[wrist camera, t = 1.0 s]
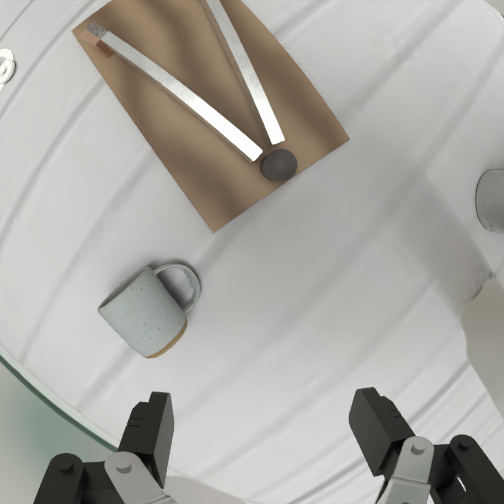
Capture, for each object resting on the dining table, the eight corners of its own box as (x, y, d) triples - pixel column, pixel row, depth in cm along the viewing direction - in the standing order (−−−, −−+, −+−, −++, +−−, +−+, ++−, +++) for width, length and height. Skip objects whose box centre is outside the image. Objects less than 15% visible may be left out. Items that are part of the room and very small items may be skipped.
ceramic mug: (151, 341, 36) (138, 374, 28) (109, 293, 34) (86, 317, 27) (216, 296, 35) (214, 323, 28) (172, 241, 33) (159, 257, 26)
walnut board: (192, -41, 25) (188, -68, 19) (346, 140, 32) (370, 133, 26) (74, 33, 26) (53, 14, 20) (213, 231, 33) (210, 242, 27)
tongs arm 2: (258, 155, 31) (262, 151, 27) (245, 169, 31) (247, 167, 27) (104, 34, 26) (92, 20, 22) (93, 46, 26) (79, 34, 22)
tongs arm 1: (285, 142, 30) (292, 137, 27) (267, 149, 31) (272, 144, 27) (205, -24, 25) (203, -42, 21) (189, -19, 25) (186, -37, 21)
